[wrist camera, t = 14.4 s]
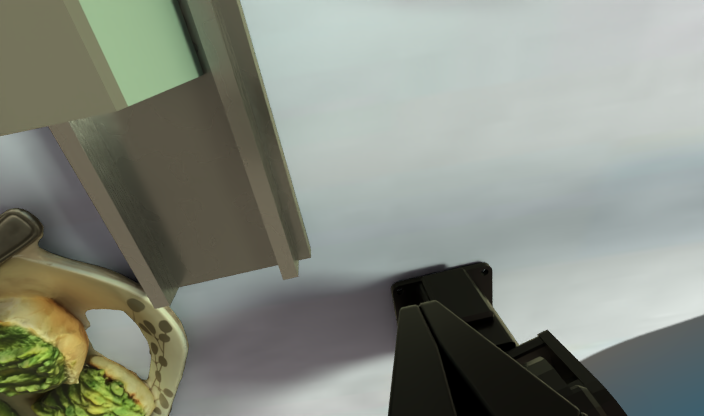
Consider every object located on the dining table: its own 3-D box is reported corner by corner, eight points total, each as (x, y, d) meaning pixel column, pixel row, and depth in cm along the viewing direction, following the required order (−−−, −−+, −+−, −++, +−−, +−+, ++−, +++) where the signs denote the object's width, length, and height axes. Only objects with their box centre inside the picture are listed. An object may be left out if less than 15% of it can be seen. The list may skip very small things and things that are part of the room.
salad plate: (-163, 129, 16) (-329, 163, 12) (236, 256, 21) (219, 311, 17) (-145, 406, 22) (-246, 490, 18) (153, 449, 28) (127, 522, 24)
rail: (310, 247, 21) (311, 285, 18) (158, 282, 21) (133, 326, 18) (192, -166, 13) (156, -230, 10) (-61, -118, 12) (-182, -167, 9)
